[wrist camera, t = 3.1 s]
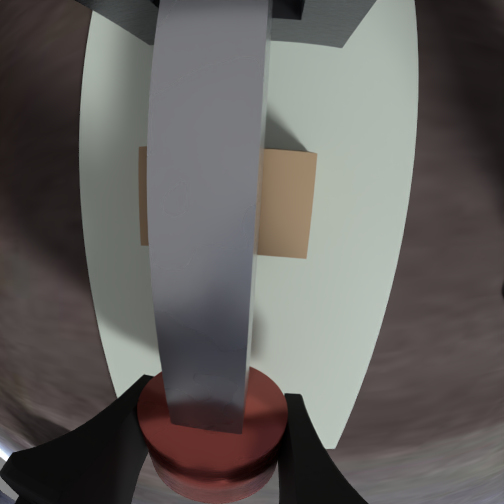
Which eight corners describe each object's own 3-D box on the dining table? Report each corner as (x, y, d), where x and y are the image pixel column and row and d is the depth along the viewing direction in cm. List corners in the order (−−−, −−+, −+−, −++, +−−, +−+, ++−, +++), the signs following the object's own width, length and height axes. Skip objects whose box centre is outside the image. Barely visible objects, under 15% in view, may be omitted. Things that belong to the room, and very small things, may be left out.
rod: (318, -78, 6) (332, -164, 1) (276, 423, 13) (272, 516, 8) (180, -75, 6) (134, -150, 1) (171, 410, 13) (140, 495, 8)
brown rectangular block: (308, 151, 10) (317, 153, 8) (300, 234, 11) (306, 258, 9) (167, 144, 10) (138, 146, 8) (166, 224, 12) (140, 245, 9)
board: (397, -52, 7) (404, -62, 6) (333, 436, 16) (334, 448, 15) (121, -54, 8) (113, -63, 7) (131, 412, 17) (126, 423, 16)
